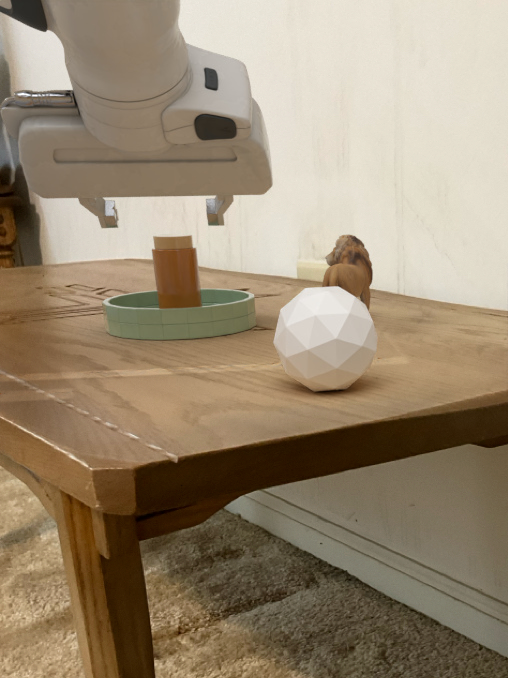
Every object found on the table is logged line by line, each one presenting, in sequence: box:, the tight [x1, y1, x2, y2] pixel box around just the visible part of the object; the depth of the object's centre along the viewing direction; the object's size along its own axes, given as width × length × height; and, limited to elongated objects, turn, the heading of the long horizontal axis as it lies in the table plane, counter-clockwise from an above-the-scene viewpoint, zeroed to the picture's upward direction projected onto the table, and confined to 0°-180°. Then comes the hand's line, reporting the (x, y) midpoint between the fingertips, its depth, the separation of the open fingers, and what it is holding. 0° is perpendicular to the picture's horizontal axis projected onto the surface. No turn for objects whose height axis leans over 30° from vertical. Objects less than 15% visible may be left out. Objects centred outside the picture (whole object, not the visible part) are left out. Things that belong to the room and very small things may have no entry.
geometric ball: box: [272, 286, 379, 393], centre depth 64 cm, size 8×8×8 cm
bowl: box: [101, 287, 257, 341], centre depth 88 cm, size 15×15×4 cm
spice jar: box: [151, 233, 202, 308], centre depth 87 cm, size 4×4×9 cm
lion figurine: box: [321, 234, 374, 312], centre depth 89 cm, size 15×5×9 cm, turn 0°
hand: (163, 221), depth 78 cm, fingers open, 8 cm apart
